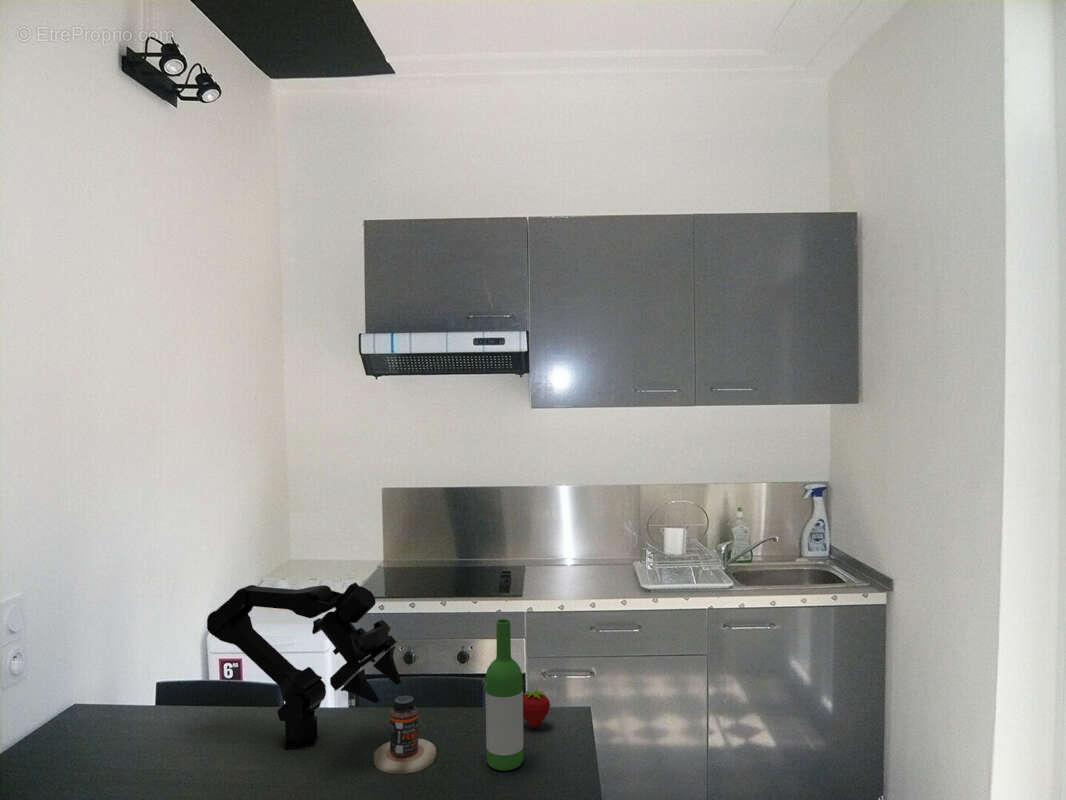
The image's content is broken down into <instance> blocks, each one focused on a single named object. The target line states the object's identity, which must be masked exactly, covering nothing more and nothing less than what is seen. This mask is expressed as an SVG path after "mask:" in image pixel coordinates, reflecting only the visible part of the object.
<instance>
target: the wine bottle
mask: <svg viewBox="0 0 1066 800" xmlns="http://www.w3.org/2000/svg"><path fill="white" fill-rule="evenodd" d="M495 626H496V657H495V658H494V660H492V662H491V663H490V664H489V666H488V667H487V670H486V672H485V728H486V729H485V730H486V731H485V733H486V734H485V737H486V739H485V740H486V741H485V742H486V744H485V746H486V762H487V764H488V766H489V767H491V768H492V769H495V770H497V771H512V770H514V769H517V768H518V767H520V766H521V765H522V763H523V760H524V718H523V695H524V694H523V693H524V691H523V690H524V689H523V672H522V670H521V669H522V668H521V667H520V665H519V664H518V662H517V661H516V660H514V659H513V658H512V652H511V651H512V648H511V645H512V644H511V643H512V640H511V639H512V638H511V637H512V636H511V620H510V619H508V618H499V619H497V620H496V625H495Z"/></svg>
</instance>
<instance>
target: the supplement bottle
mask: <svg viewBox="0 0 1066 800" xmlns="http://www.w3.org/2000/svg"><path fill="white" fill-rule="evenodd" d="M418 738H419V710H418V708H417V707H416V706H415V703H414V697H413V696H411V695H400V696H397V697H396V698H395V699H394V707H393V708H392V709H391V710H390V712H389V742H390V752H391V754H392V755H394V756H396V757H409V756H412V755H413V754H415V753H416V752H417V750H418Z"/></svg>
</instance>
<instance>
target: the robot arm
mask: <svg viewBox="0 0 1066 800" xmlns="http://www.w3.org/2000/svg"><path fill="white" fill-rule="evenodd" d="M376 602H377V601H376V597H375V595H374V593H373V592H371V590H368V589H367V588H366V587H364V586H361V585H359V584H358V583H357V582H353V583H351V584H350V585H349V586H347V587H346V589H345V591H344V592H339V591H335V590H332V589H331V587H330V586H328V585H325V584H324V585H314V586H309V587H304V588H299V589H294V588H293V589H292V588H281V587H270V586H269V587H268V586H267V587H266V586H258V585H255V584H251V585H250V584H249V585H247V586H243V587H241V588H239V589H237V590H236V591H235V592H234V594H233V595H232V596H231V597H230V598H229V599H227V600H226V601H225V602H224V603H223V604H222V605H220V606H219V607H218V608H217V610H213V611H212V612H210V613H209V614H208V616H207V618H206V629H207V631H208V632H209V633H210V635H212V636H213V637H215V638H216V639H218V640H219V641H221V642H224V643H228V644H231V645H234V646H236V647H237V648H238V649H239V650H240V651H241V652H242V653H244V655H245V656H247V657H248V658H249V659H250V661H252V662H253V663H254V664H255V665H256V666H257V667H258V668H259V669H261V670H262V671H263V672H264V673H265V674H266V675H267V677H269V678H270V679H271V680H272V681H273V682H274V683H275V684H276V685H278V688H279V689H280V693H281V697H282V700H283V701H284V703H283V705H281V707H280V708H279V709H277V711H276V713H277V716H278V719H279V721H280V722H284V736H285V737H284V739H285V740H284V745H283V746H284V750H291V749H297V748H306V747H312V746H313V747H314V746H315V745H316V740H317V739H318V738H319V735H318V734H319V731H318V730H319V724H318V723H319V722H318V721H319V719H318V715H315V714H316V710H317V709H319V708H320V707H321V704H322V702H323V701H324V700H325V698H326V695H327V689H326V688H327V686H326V683H325V682H324V681H323V680H322V679H323V677H322V676H321V675H318V674H317V672H315V671H314V669H313V668H312V667H309V666H307V667H306V668H304V669H303V670H301V669H299V668H296V667H295V666H294V665H293V664H292V663H291V662H289V660H288V659H287V658H285V657H284V656H283V655H282V654H281V653H280V652H279V651H278V649H276V648H274V646H272V644H270V643H269V642H268V641H267V640H266V639H265V638H264V637H263V636H262V635H261V634H259V632H257V631H256V629H254V626H253V623H252V619H251V617H250V615H249V614H250V613H251V611H253V608H254V607H256V608H267V609H269V608H270V609H279V610H288V611H291V612H293V613H294V614H295V615H296V616H300V617H304V618H308V619H314V618H316V617H318V616H321V615H322V614H325V615H323V617H322V618H320V617H319V618H317V619H315V620H313V624H312V625H313V626H312V630H311V631H312V635H315V634H317V633H319V632H322V633H323V634H324V636H326V638H327V639H328V640H329V642H330V643H331V644H332V645H333V646H334V649H333V650H332V652H333V654H334V655H338V654H340V656H341V657H342V658H343V660H345V662H346V663H345V664H343V665H342V666H340V668H339V669H338V670H337V671H336V672H335V673H334V674H332V675H331V677H330V678H329V683H330V684H329V685H330V686H331V687H332V688H333V690H334V691H335V692H337V690H340V691H341V692H347V693H350V694H352V695H353V694H354V695H355V696H358V697H360V698H363V699H365V700H366V701H369V702H371V703H373V704H377V703H378V702H380V698H379V697H378V695H377V693H376V692H375V690H374V689H373V687H372V686H371V684H370V683H369V682H368V680H367V678H366V669H365V668H364V667H365V666H366V665H368V663H370V662H372V663H374V664H373V665H372V667H374V668H375V669H376V670H377V671H379V672H380V673H381V674H383V675H384V676H385V677H386V678H387V679H388V680H390V681H391V682H392V683H394V684H395V685H400V684H401V683H402V680H401V677H400V674H399V671H398V669H397V666H396V664H395V660H394V654H395V650H396V644H397V640H396V639H395V638H394V636H392V635H389V633H390V631H391V626H389V624H388V623H387V622H386V621H385V620H384V619H381V620H379V621H376V622H375V623H373V628H372V629H370V630H368V631H366V630H365V629H364V628H363V627H359V628H358V629H357V628H356V626H355V625H354V624H356V623H359V622H360V620H362V618H364V616H365V615H367V613H369V612H370V611H371V610H372V609H373V608H374V607H375V605H376ZM333 609H335V610H334V611H331V610H333ZM362 668H363V669H362Z"/></svg>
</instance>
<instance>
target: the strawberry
mask: <svg viewBox="0 0 1066 800" xmlns="http://www.w3.org/2000/svg"><path fill="white" fill-rule="evenodd" d="M534 686H535V689H534V690H533V691H528V690H525V691H524V692H523V720H525V721H526V722H527V723H528V724H529V726H530V728H532V729H536V728H538V727H539V725H541V723H542V722H543V721H544V720H545V718H546V717H547V716H548V714H549V711H550V707H551V702H550V699H549V698H548V697H547V696H546V694H544V693H545V692H544V691H541V690H539V688H537V684H536V683H534Z"/></svg>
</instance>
